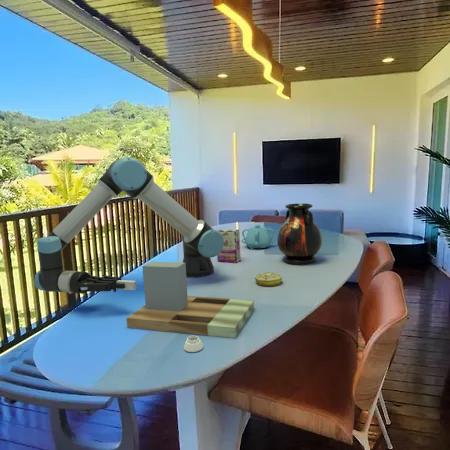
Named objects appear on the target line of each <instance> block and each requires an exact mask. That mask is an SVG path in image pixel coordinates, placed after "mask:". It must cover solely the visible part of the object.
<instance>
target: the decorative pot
mask: <svg viewBox="0 0 450 450" xmlns="http://www.w3.org/2000/svg"><path fill="white" fill-rule="evenodd" d="M269 231H270V232H271V235H270V232H269ZM245 232H247V233H246V235H245V234H244V233H245ZM241 234H242V240H241V243H243V244H245V245H246V246H247V247H248V248H255V249H256V248H257V249H258V248H259V249H261V248H267V247H269V246H270V245H271V244H274V243H275V238H274V230H273V229H272V228H270V227H268V228H267V227H264V226H261V225H260V224H254V227H253V226H252V227H249V228H245V229H243V230H242V231H241Z"/></svg>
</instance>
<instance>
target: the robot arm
mask: <svg viewBox="0 0 450 450" xmlns="http://www.w3.org/2000/svg"><path fill="white" fill-rule="evenodd" d="M154 179H155V178H154V175H153V174H152V173H151V172H149V171H148V170H147V169H146V167H145V165H144V164H143V163H142V162H141V161H140V160H138V159H137V158H134V157H131V156H130V157H129V156H124V157H121V158H119V159H117V160H114V161H113V162H112V163H111V164H110V165H109V167H108V168H107V169H106V170H105V172H104V173H103V174H102V176H100V178H99V179H98V180H97V183H98V184H97V185H95V187H93V189H92V190H90V191H89V193H88V194H87V195H86V196H85V197H84V198H83V199H82V200H81V201H80V202H79V203H78V204H77V205H76V206H75V207H74V208H73V209H72V210H71V211H70V212H69V213H68V214H67V215H66V217H64V218H63V220H62V221H60V223H58V225H57V226H56V227H55V228H54V229H53V230H52V231H51V232H50V233H49V234H48V235H47V236H44V237H39V238H38V239H37V241H36V242H37V243H36V245H37V246H36V247H37V248H36V249H37V254H38V260H39V271H37V272H36V274H35V275H34V279H33V283H34V286H35V288H36V289H38V290H39V291H43V292H44V291H45V292H54V293H55V292H56V293H58V292H59V293H68V294H70V295H71V294H73V293H74V294H86V293H88V292H89V293H90V292H91V293H92V292H93V293H95V292H96V293H97V292H113V293H115V292H117V290H122V291H123V290H124V291H127V290H128V291H135V290H137V280H125V279H124V280H123V279H122V277H117V276H112V275H111V276H109V275H107V274H102V276H97V275H90V273H89V272H87V271H77V270H64V261H63V259H64V258H63V250H64V249H65V248H66V247H67V246H68V244H69V243H70V242H71V241H73V239H74V238H75V237H77V235H78V234H80V232H81V231H82V230H83V229H84V228H85V227H86V226H87V225H88V224H89V223H90V222H91V220H92V219H93V218H94V217H95V216H96V215H97V214H98V213H99V212H100V211H101V210H103V208H104V207H105V206H106V205H107V204H108V203H109V202H110V201H111V200H112V198H117V197H118V196H120V194H121V193H122V192H124V193H126V194H127V195H128V196H129V197H130V198H132V199H133V200H137V199H138V200H140V201H141V202H143V204H145V205H146V206H147V207H148V208H150V209H151V210H152V211H154V213H156V214H157V215H158V216H159V217H160V218H162V219H163V220H164V221H165V222H166V223H167V224H169V225H170V226H171V227H172V228H174V229H175V230H176V231H177V232H179V234H180V235H182V249H183V259H182V262H181V263H185V265H186V278H187V277H188V278H200V277H201V278H202V277H205V276H206V277H207V276H210V275H212V274H214V273H215V267H214V264H213V261H212V259H211V258H215V257H217V255H218V254H219V253H220V252H221V251H222V249H223V246H224V238H223V236H222V234H221V233H220V232H219V231H217V230H218V229H214V228H213V227H212V226H210V225H209V224H208V222H206V221H204V219H199V220H198V219H197V218H196V217H195V216H193V215H192V214H191V213H190V212H189V211H188V210H187V209H186V208H184V207H183V206H182V205H181V204H180V203H179V202H177V201H176V200H175V199H174V198H173V196H171V195H169V194H168V192H166V191H165V190H164V189H162V187H160V186H159V185H158V184H157V183H156V182H155V180H154Z"/></svg>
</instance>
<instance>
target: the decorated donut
mask: <svg viewBox="0 0 450 450" xmlns="http://www.w3.org/2000/svg"><path fill="white" fill-rule="evenodd" d="M254 279H255V282H256V284H258V285H259V286H261V287H262V286H263V287H275V286H278V285H280V284H281V282H282V280H283V278H282V275H281V274H280V273H276V272H261V273H258V274H257V275H256V276H255V277H254Z"/></svg>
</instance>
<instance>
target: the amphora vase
mask: <svg viewBox="0 0 450 450" xmlns="http://www.w3.org/2000/svg"><path fill="white" fill-rule="evenodd" d="M284 207H285V209H287V210H286V213H285V221H284V222H283V223H282V224H281V226H280V228H279V230H278V233H277V247H278V249H279V251H280V252H281V253H282V254H283V255H284V256H283V257H282V260H283V262H285V263H287V264H289V265H301V266H302V265H310V264H313V263H315V262H317V260H318V258H317V256H316V255H317V254H318V253H319V251H320V250H321V249H322V245H323V238H322V233H321V230H320V228H319V226H318V225H317V223H316V222H315V220H314V216H313V213H312V212H311V211H310V209H312V208H313V204H311V203H289V204H286V205H285V206H284Z"/></svg>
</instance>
